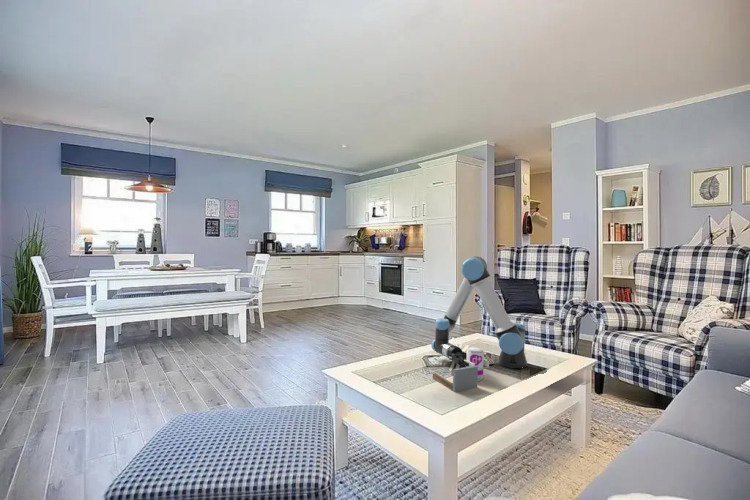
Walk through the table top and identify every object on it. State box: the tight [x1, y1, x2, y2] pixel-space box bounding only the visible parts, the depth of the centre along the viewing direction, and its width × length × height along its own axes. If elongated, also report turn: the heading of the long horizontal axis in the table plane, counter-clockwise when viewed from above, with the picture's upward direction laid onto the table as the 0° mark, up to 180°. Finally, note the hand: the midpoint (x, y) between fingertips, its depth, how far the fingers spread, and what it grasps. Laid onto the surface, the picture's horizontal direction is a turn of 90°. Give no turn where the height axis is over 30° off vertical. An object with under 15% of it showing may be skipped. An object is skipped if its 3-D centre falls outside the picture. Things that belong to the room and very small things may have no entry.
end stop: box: [452, 366, 478, 393], centre depth 176 cm, size 13×2×10 cm, turn 116°
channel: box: [432, 369, 454, 392], centre depth 184 cm, size 13×16×2 cm
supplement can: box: [465, 346, 485, 382], centre depth 190 cm, size 8×8×15 cm
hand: (481, 365), depth 185 cm, fingers closed on supplement can, 8 cm apart
